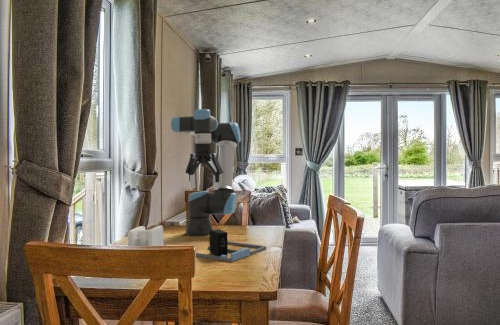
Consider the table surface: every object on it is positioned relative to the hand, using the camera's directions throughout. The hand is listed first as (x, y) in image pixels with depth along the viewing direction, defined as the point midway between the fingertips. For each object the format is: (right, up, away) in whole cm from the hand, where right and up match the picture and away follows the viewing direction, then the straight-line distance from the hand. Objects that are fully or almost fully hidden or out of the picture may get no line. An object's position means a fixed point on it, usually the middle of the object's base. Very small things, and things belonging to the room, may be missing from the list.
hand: (204, 189), depth 179 cm
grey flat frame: (+12, -27, -11) cm, 31 cm away
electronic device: (+8, -27, -16) cm, 32 cm away
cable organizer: (-23, -27, -14) cm, 38 cm away
